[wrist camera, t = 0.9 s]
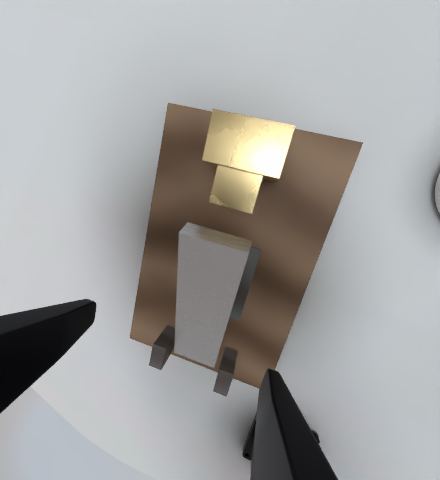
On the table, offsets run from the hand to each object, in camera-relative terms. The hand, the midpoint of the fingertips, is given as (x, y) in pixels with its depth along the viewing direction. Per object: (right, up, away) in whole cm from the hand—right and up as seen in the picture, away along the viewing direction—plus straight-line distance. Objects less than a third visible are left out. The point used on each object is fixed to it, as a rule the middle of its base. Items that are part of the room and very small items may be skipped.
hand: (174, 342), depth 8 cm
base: (+2, +2, +12) cm, 12 cm away
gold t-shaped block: (+4, +9, +8) cm, 13 cm away
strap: (+1, -1, +8) cm, 8 cm away
